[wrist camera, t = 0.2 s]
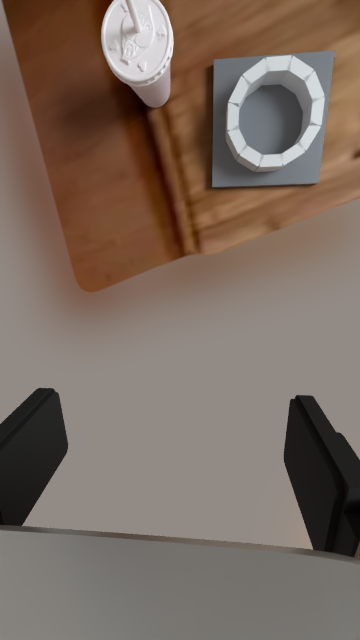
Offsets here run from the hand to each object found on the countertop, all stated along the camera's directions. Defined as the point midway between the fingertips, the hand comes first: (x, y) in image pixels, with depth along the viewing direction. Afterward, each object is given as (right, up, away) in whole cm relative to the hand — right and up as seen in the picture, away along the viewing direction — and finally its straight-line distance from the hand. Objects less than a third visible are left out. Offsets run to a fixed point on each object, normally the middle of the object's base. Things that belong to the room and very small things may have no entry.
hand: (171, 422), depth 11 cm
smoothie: (-3, +32, +22) cm, 39 cm away
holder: (+11, +27, +22) cm, 37 cm away
